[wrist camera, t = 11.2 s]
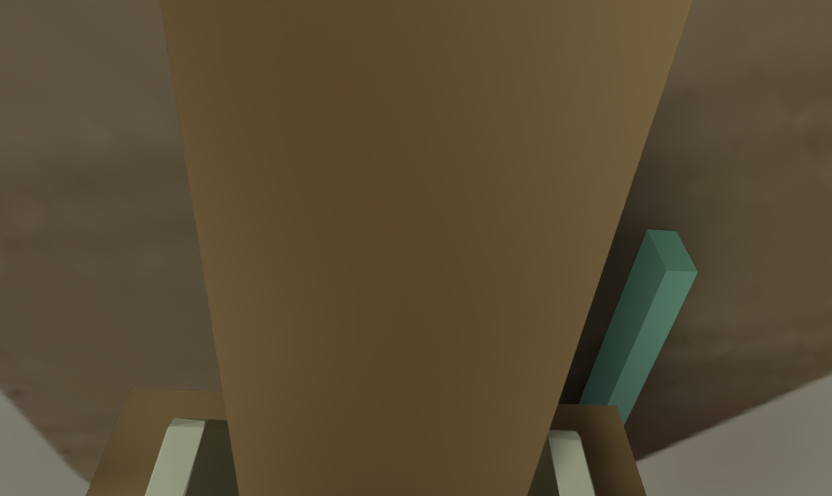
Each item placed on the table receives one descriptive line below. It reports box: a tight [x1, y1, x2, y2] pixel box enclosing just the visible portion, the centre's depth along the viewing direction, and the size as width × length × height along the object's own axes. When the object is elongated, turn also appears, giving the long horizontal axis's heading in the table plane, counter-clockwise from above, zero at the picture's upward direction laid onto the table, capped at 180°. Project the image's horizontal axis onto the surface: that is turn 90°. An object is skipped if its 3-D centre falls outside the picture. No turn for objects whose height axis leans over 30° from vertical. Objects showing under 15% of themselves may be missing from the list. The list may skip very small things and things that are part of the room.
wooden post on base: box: [86, 0, 693, 496], centre depth 7 cm, size 9×11×5 cm
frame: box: [579, 229, 698, 426], centre depth 29 cm, size 16×13×2 cm
